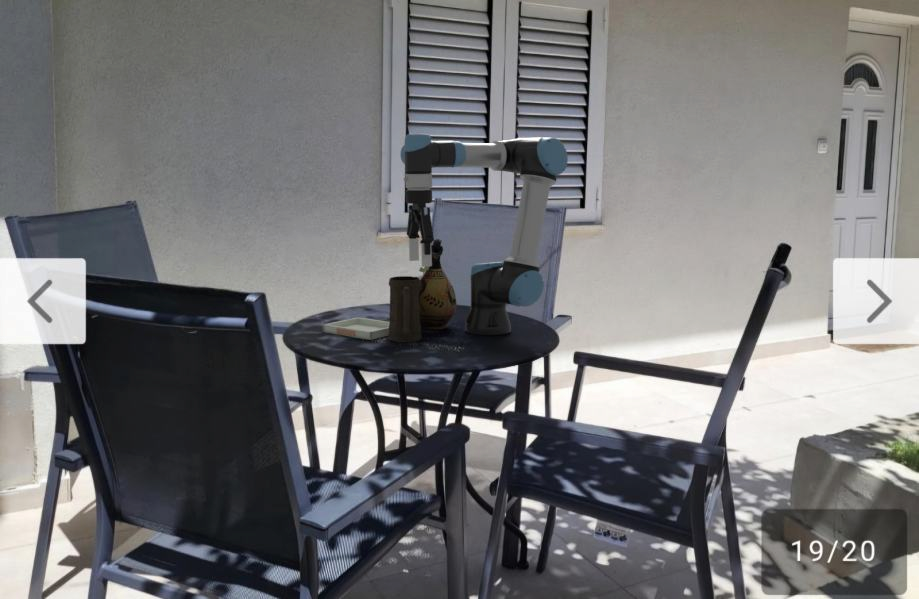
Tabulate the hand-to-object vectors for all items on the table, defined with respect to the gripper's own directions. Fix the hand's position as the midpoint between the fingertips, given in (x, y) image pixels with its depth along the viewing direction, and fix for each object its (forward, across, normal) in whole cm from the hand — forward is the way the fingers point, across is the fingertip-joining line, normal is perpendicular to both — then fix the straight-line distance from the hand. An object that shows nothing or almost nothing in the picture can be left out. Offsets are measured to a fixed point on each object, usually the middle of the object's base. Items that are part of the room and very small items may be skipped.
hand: (420, 263), depth 244 cm
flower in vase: (+28, -68, +20) cm, 76 cm away
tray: (+27, -37, -10) cm, 47 cm away
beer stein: (+27, -20, 0) cm, 34 cm away
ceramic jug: (+28, -39, +15) cm, 50 cm away
